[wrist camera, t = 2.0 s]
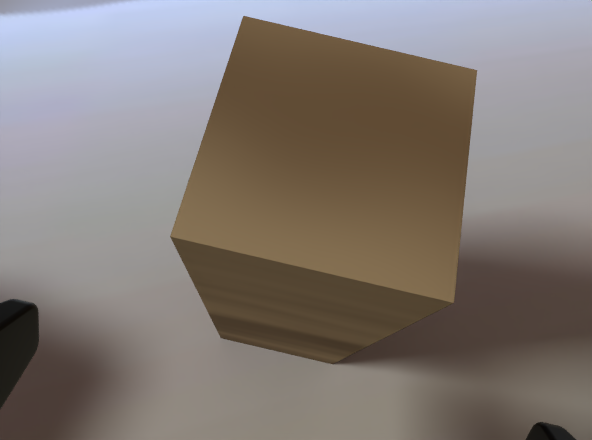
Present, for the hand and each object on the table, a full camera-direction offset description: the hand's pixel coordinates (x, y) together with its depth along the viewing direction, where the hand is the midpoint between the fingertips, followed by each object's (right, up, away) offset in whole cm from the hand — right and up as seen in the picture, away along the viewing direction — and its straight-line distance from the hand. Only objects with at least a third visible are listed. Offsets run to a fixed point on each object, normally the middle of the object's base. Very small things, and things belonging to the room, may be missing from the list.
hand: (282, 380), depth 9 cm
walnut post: (0, 0, +11) cm, 11 cm away
